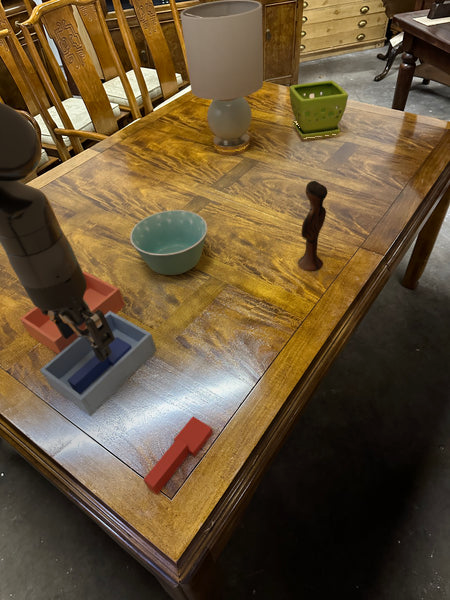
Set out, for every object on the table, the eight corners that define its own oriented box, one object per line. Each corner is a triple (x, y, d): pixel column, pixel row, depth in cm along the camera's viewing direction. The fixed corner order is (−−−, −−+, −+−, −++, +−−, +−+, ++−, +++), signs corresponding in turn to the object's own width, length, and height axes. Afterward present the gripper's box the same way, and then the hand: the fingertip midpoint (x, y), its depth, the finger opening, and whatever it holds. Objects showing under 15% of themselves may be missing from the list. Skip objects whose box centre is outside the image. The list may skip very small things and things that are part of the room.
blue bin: (90, 416, 65) (81, 400, 61) (50, 385, 69) (39, 369, 66) (156, 350, 73) (151, 333, 70) (116, 327, 78) (109, 310, 74)
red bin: (63, 358, 73) (54, 341, 70) (29, 334, 78) (19, 318, 75) (125, 305, 82) (119, 288, 78) (91, 287, 86) (84, 270, 83)
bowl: (165, 233, 98) (158, 203, 92) (224, 248, 92) (221, 217, 86) (124, 275, 88) (113, 243, 82) (187, 295, 82) (180, 262, 76)
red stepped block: (162, 499, 55) (158, 491, 53) (142, 483, 56) (138, 475, 55) (213, 432, 61) (211, 424, 59) (194, 420, 62) (191, 411, 61)
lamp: (273, 154, 121) (272, 9, 96) (206, 167, 119) (187, 22, 94) (254, 128, 135) (249, -5, 111) (193, 139, 133) (174, 7, 109)
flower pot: (344, 138, 124) (349, 93, 116) (298, 145, 124) (300, 100, 115) (329, 120, 134) (333, 78, 126) (287, 127, 134) (288, 84, 125)
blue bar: (83, 397, 67) (78, 387, 65) (69, 386, 68) (63, 377, 67) (133, 350, 73) (129, 340, 71) (118, 341, 74) (114, 332, 73)
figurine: (310, 249, 89) (316, 170, 76) (331, 257, 86) (340, 177, 74) (291, 267, 85) (293, 188, 73) (312, 276, 83) (319, 196, 70)
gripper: (-8, 265, 56) (40, 342, 67) (58, 304, 49) (99, 383, 60) (38, 236, 60) (76, 313, 71) (105, 268, 53) (135, 348, 64)
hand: (87, 345), depth 66 cm, fingers open, 8 cm apart
